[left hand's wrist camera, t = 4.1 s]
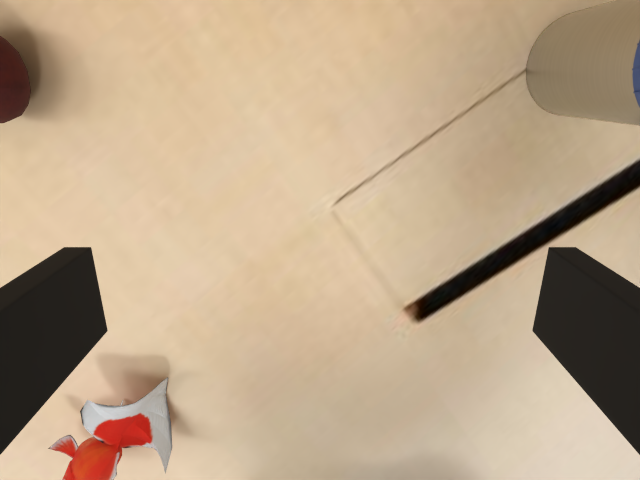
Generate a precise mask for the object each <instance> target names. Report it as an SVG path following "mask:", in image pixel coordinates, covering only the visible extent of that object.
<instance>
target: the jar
mask: <svg viewBox="0 0 640 480" xmlns="http://www.w3.org/2000/svg"><path fill="white" fill-rule="evenodd" d="M639 40H640V0H615V1H612V2H608V3H605V4H601V5H598V6H594V7H591V8H587V9H584V10H580V11H577V12H573V13H570V14H567V15H565V16H563V17H561V18H559V19H557V20H556V21H554V22H553V23H552V24H551V25H549V26H548V27H547V28H546V29H545V30H544V31H543V32H542V33H541V35H540V36H539V37H538V39H537V40H536V42H535V43H534V45H533V47H532V49H531V52H530V55H529V58H528V62H527V68H526V80H527V85H528V89H529V92H530V94H531V96H532V98H533V99H534V101H535V102H536V103H537V104H538V105H539V106H540V107H541V108H542V109H544V110H546V111H547V112H550V113H552V114H556V115H561V116H569V117H577V118H585V119H593V120H601V121H609V122H616V123H624V124H632V125H640V108H639V106H638V103H637V100H636V97H635V93H633V92H634V88H633V76H632V74H633V70H632V68H633V63H634V57H635V52H636V49H637V46H638V45H637V43H639Z"/></svg>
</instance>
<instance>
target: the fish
mask: <svg viewBox="0 0 640 480" xmlns="http://www.w3.org/2000/svg"><path fill="white" fill-rule="evenodd" d="M167 382H168V378H166V379H165V380H163V381H162V382H161V383H160V384H159V385H158V386H157V387H155V388H154V389H153V390H152V391H151V392H150V393H149V394H147V395H146V396H144V397H143V398H141V399H140V400H139V401H137V402H136V403H134V404H129V405H124V406H122V404H123V400H122V403H121V405H120V406H107V405H101V404H95V403H93V402H91V401H89V400H87V401H86V403H85V405H84V406H83V408H82V409H81V411H80V412H81V417H82V423H83V425H84V427H85V428H86V430H87V431H88V432H89V433H90V434H92V435H93V436H94V437H92V438H89V439H87V440H86V441H84V442H83V443H82V444H81V445H80V446H79V447H78V445H77V443H76V441H75V440H74V438H73V437H72V436H71V435H67V436H65V437H63V438H61V439H59V440H58V441H57V442H55V443H54V444H53V445H52V446H51V447H50V448H48V449H52V450H55V451H60V452H62V453H65V454H67V455H68V456H70V457H72V458H73V460H72V461H70V463H69V465H68V468H67V470H66V473H65V475H64V477H63V480H113V479H114V478H115V477H116V475H117V472H116V466H117V464H118V462H119V461H120V458H121V456H122V448H128V447H137V446H144V447H150V448H154V449H155V450H156V451H157V452H158V454H159V455H160V457H161V460H162V463H163V466H164V470H165V473H166V469H167V465H168V461H169V458H170V454H171V450H172V436H171V421H170V415H169V410H168V404H167V398H166V389H167ZM121 447H122V448H121Z"/></svg>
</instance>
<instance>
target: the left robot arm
mask: <svg viewBox="0 0 640 480" xmlns="http://www.w3.org/2000/svg"><path fill="white" fill-rule="evenodd" d="M106 332H107V326H106V321H105V316H104V311H103V306H102V301H101V295H100V290H99V285H98V280H97V275H96V270H95V265H94V260H93V255H92V250H91V247H64V248H63V249H61V250H59V251H58V252H56V253H55V254H53V255H52V256H50V257H48V258H47V259H45V260H44V261H42V262H40V263H39V264H37V265H36V266H34V267H33V268H31V269H29V270H28V271H26V272H25V273H23V274H22V275H20V276H18V277H17V278H15V279H14V280H12V281H11V282H9V283H7V284H6V285H4V286H3V287H1V288H0V454H1V453H2V452H3V451H4V450H5V449H6V447H7V446H8V445H9V444H10V443H11V442H12V441H13V439H14V438H15V437H16V436H17V435H18V434H19V432H20V431H21V430H22V429H23V428H24V427H25V426H26V424H27V423H28V422H29V421H30V420H31V419H32V417H33V416H34V415H35V414H36V413H37V412H38V410H39V409H40V408H41V407H42V406H43V405H44V404H45V402H46V401H47V400H48V399H49V398H50V397H51V395H52V394H53V393H54V392H55V391H56V390H57V389H58V387H59V386H60V385H61V384H62V383H63V382H64V380H65V379H66V378H67V377H68V376H69V375H70V373H71V372H72V371H73V370H74V369H75V368H76V367H77V365H78V364H79V363H80V362H81V361H82V360H83V358H84V357H85V356H86V355H87V354H88V353H89V352H90V350H91V349H92V348H93V347H94V346H95V345H96V343H97V342H98V341H99V340H100V339H101V338H102V337H103V335H104V334H105V333H106ZM533 332H534V333H535V334H536V335H537V337H538V338H539V339H540V340H541V341H542V342H543V343H544V345H545V346H546V347H547V348H548V349H549V350H550V352H551V353H552V354H553V355H554V356H555V357H556V358H557V360H558V361H559V362H560V363H561V364H562V365H563V367H564V368H565V369H566V370H567V371H568V372H569V373H570V375H571V376H572V377H573V378H574V379H575V380H576V382H577V383H578V384H579V385H580V386H581V387H582V389H583V390H584V391H585V392H586V393H587V394H588V395H589V397H590V398H591V399H592V400H593V401H594V402H595V404H596V405H597V406H598V407H599V408H600V409H601V410H602V412H603V413H604V414H605V415H606V416H607V417H608V419H609V420H610V421H611V422H612V423H613V424H614V426H615V427H616V428H617V429H618V430H619V431H620V432H621V434H622V435H623V436H624V437H625V438H626V439H627V441H628V442H629V443H630V444H631V445H632V446H633V447H634V449H635V450H636V451H637V452H638V453H639V454H640V288H639V287H637V286H636V285H634V284H633V283H631V282H629V281H628V280H626V279H625V278H623V277H622V276H620V275H618V274H617V273H615V272H614V271H612V270H611V269H609V268H607V267H606V266H604V265H603V264H601V263H600V262H598V261H596V260H595V259H593V258H592V257H590V256H588V255H587V254H585V253H584V252H582V251H581V250H579V249H577V248H576V247H549V250H548V255H547V260H546V265H545V270H544V275H543V280H542V285H541V290H540V295H539V301H538V306H537V311H536V316H535V321H534V326H533Z"/></svg>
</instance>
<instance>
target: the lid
mask: <svg viewBox="0 0 640 480" xmlns="http://www.w3.org/2000/svg"><path fill="white" fill-rule="evenodd" d="M637 45H638V46H637V49H636V52H635V57H634V63H633V68H632V70H633V74H632V76H633V88H634V92H633V93H635V97H636V100H637V103H638V106H639V108H640V40H639V43H637Z"/></svg>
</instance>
